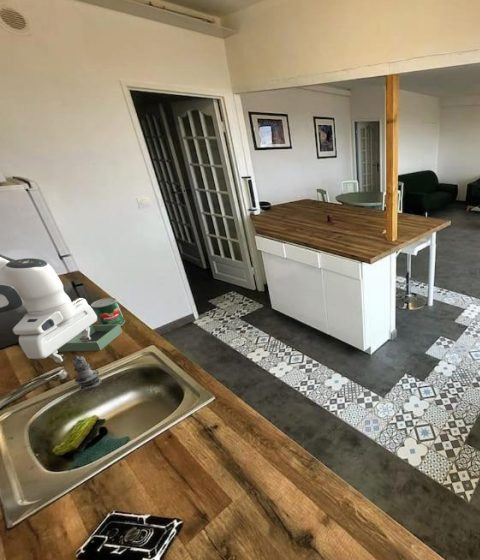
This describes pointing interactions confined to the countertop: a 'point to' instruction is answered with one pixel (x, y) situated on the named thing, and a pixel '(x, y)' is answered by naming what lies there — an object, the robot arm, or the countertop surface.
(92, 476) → the countertop surface
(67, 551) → the countertop surface
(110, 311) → the canned tomato
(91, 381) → the grey statuette
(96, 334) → the tray
